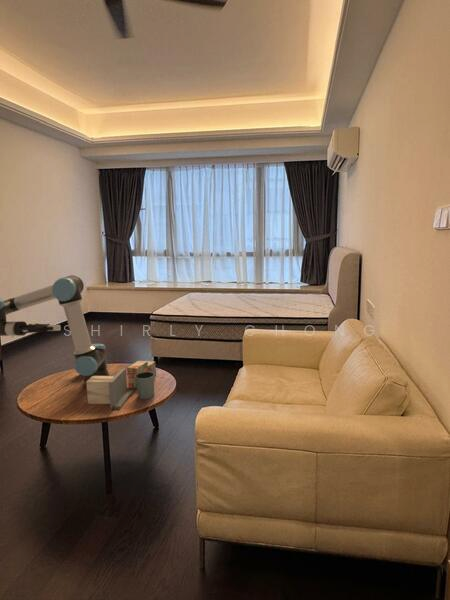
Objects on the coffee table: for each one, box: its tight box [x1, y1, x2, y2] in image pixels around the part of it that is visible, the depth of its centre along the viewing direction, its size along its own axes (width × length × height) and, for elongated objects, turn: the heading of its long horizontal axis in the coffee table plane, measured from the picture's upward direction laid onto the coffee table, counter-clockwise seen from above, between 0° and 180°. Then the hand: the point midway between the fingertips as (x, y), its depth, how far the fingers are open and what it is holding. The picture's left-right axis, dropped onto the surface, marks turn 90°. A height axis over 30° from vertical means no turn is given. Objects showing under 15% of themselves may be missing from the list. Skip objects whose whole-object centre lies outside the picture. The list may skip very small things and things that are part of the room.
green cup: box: [135, 372, 156, 400], centre depth 206 cm, size 10×10×12 cm
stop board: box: [109, 367, 134, 410], centre depth 200 cm, size 20×5×14 cm, turn 176°
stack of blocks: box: [126, 360, 157, 389], centre depth 227 cm, size 21×6×12 cm, turn 162°
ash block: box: [86, 375, 115, 405], centre depth 201 cm, size 8×14×12 cm, turn 86°
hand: (59, 327), depth 204 cm, fingers closed
